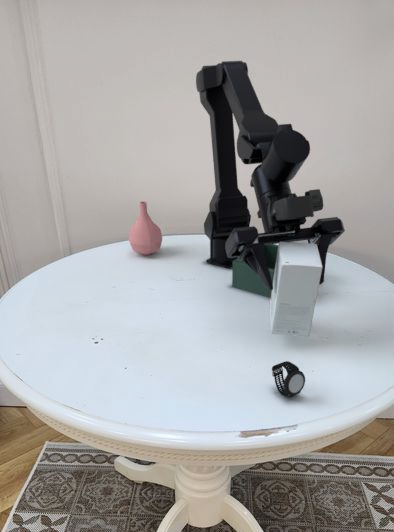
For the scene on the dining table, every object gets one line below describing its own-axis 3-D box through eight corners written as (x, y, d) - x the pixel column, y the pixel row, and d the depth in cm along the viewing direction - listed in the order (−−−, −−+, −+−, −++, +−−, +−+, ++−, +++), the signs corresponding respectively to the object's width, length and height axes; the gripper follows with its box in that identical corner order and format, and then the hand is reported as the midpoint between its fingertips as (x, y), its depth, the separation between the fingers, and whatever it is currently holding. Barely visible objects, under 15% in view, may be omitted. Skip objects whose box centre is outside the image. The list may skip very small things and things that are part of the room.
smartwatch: (279, 405, 76) (281, 376, 73) (268, 384, 80) (270, 356, 77) (307, 401, 76) (310, 372, 74) (295, 380, 81) (298, 353, 78)
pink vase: (154, 244, 129) (151, 195, 122) (169, 255, 123) (166, 203, 117) (124, 251, 126) (120, 201, 119) (138, 262, 120) (134, 210, 114)
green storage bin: (231, 286, 108) (232, 261, 105) (262, 265, 117) (263, 241, 114) (292, 303, 102) (294, 276, 99) (319, 280, 110) (322, 255, 107)
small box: (309, 337, 87) (323, 267, 79) (270, 335, 87) (280, 264, 79) (304, 310, 94) (317, 242, 86) (268, 308, 94) (277, 240, 86)
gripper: (232, 176, 78) (255, 276, 75) (347, 165, 82) (373, 260, 79) (216, 212, 88) (236, 300, 86) (318, 201, 93) (341, 285, 90)
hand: (296, 286), depth 85 cm, fingers closed on small box, 8 cm apart
